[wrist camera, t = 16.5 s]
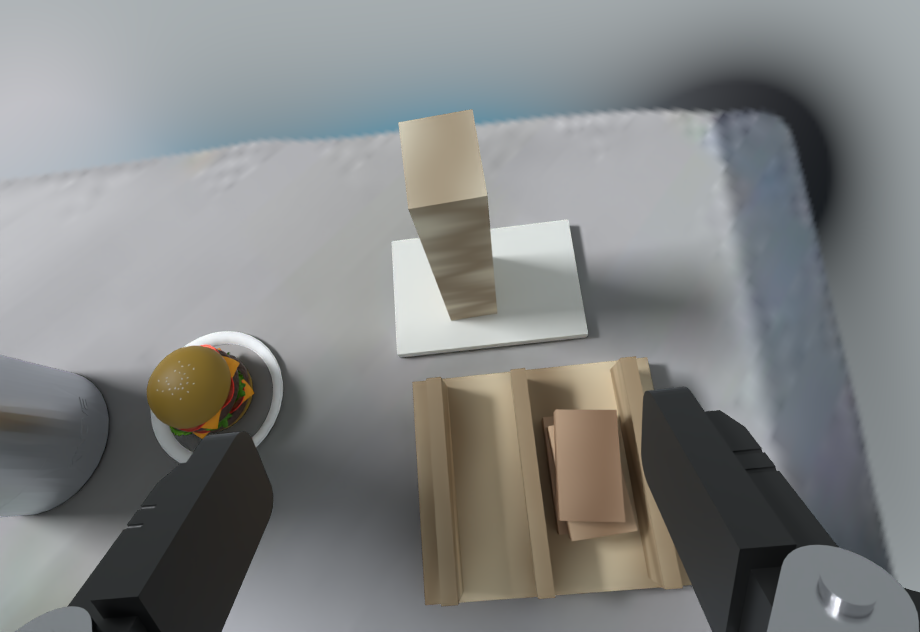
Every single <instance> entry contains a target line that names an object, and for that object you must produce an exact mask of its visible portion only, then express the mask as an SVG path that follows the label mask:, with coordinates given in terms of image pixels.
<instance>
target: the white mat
mask: <svg viewBox="0 0 920 632" xmlns="http://www.w3.org/2000/svg"><path fill="white" fill-rule="evenodd" d="M490 232H491V244H492V256H493V268H494V279H495V291H496V303H497V314H490V315H484V316H478V317H471V318H465V319H459V320H452V321H451V319H450V317H449V314H448V312H447V309H446V306H445V304H444V301H443V298H442V296H441V293H440V291H439V288H438V285H437V283H436V280H435V277H434V275H433V272H432V270H431V267H430V264H429V262H428V259H427V256H426V254H425V251H424V249H423V246H422V243H421V241H420V238H414V239H406V240H398V241H392V257H393V278H394V299H395V319H396V340H397V355H398V356H399V357H409V356H419V355H428V354H437V353H446V352H455V351H464V350H474V349H483V348H492V347H501V346H510V345H520V344H529V343H538V342H547V341H556V340H566V339H575V338H584V337H587V335H588V330H587V324H586V318H585V313H584V307H583V301H582V295H581V290H580V284H579V278H578V273H577V267H576V261H575V255H574V250H573V244H572V238H571V233H570V227H569V221H568V219H567V220H559V221H551V222H543V223H535V224H527V225H519V226H511V227H503V228H495V229H490Z"/></svg>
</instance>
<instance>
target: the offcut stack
mask: <svg viewBox="0 0 920 632" xmlns="http://www.w3.org/2000/svg"><path fill="white" fill-rule="evenodd" d="M553 415H554V416H552V417H543V418H542V426H543V434H544V441H545V448H546V456H547V463H548V470H549V478H550V485H551V492H552V500H553V507H554V514H555V522H556V529H557V533H558V534H559V535H563V534H569V538H570V539H571V540H572V541H577V540H584V539H590V538H596V537H602V536H609V535H615V534H621V533H627V532H634V531H638V530H637V526H636V522H635V518H634V514H633V510H632V506H631V502H630V498H629V494H628V490H627V486H626V482H625V478H624V474H623V470H622V466H621V460H620V448H619V435H618V422H617V410H555V411H554V413H553Z"/></svg>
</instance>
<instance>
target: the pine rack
mask: <svg viewBox="0 0 920 632" xmlns="http://www.w3.org/2000/svg"><path fill="white" fill-rule="evenodd" d="M510 371H511V372H504V373H494V374H485V375H475V376H466V377H456V378H447V379H442V378H441V377H436V378H427V379H426V381H418V382H412V383H413V400H414V418H415V435H416V453H417V470H418V488H419V505H420V523H421V540H422V558H423V576H424V593H425V605H435V604H441V606H452V605H458V604H459V603H462V602H475V601H488V600H501V599H514V598H528V597H538V599H545V598H555V595H567V594H580V593H594V592H607V591H620V590H633V589H646V588H659V587H662V588H664V589H677V588H683V586H686V585H692V584H691V582H690V580H689V577H688V575H687V573H686V570H685V568H684V566H683V564H682V561H681V559H680V557H679V555H678V552H677V550H676V548H675V545H674V543H673V541H672V539H671V536H670V534H669V532H668V529H667V527H666V525H665V523H664V520H663V518H662V516H661V514H660V511H659V509H658V507H657V504H656V502H655V500H654V498H653V495H652V493H651V491H650V488H649V486H648V484H647V481H646V478H645V475H644V471H643V466H642V459H641V435H642V409H643V396H644V393H645V391H649V390H654V388H653V383H652V378H651V374H650V369H649V364H648V359H647V357H646V358H636V356H635V357H625V358H620V359H619V360H617V361H608V362H598V363H589V364H579V365H570V366H560V367H551V368H541V369H532V370H526V369H525V368H521V369H512V370H510ZM555 410H617V422H618V435H619V448H620V460H621V466H622V470H623V474H624V478H625V482H626V486H627V490H628V494H629V498H630V502H631V506H632V510H633V514H634V518H635V522H636V526H637V530H638V531H634V532H627V533H621V534H615V535H609V536H602V537H596V538H590V539H584V540H577V541H572V540H571V539H570V538H569V534H563V535H559V534H558V533H557V529H556V522H555V514H554V507H553V500H552V492H551V485H550V478H549V470H548V463H547V456H546V448H545V441H544V434H543V426H542V418H543V417H552V416H554V415H553V413H554V411H555Z"/></svg>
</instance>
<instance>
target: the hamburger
mask: <svg viewBox="0 0 920 632" xmlns="http://www.w3.org/2000/svg"><path fill="white" fill-rule="evenodd" d="M223 344H235V345H241V346H244V347H247V348H249V349H251V350H252V351H254V352H256V353H257V354H258V355H259V356H260V357H261V358H262V359H263V361H264V362H265V364H266V365H267V367H268V369H269V372H270V374H271V377H272V383H273V398H272V403H271V407H270V410H269V413H268V415H267V418H266V420H265V421H264V423H263V425H262V426H261V428H260V429H259V430H258V432H257V433H256V434H255V435H254V436H253V437H252V439H253V442H254V444H255V447H257V446H258V445H259V444H260V443H261V442H262V441H263V440H264V438H265V437H266V436H267V435H268V433H269V431H270V430H271V428H272V427H273V425H274V423H275V421H276V418H277V416H278V413H279V411H280V407H281V402H282V397H283V381H282V375H281V370H280V367H279V365H278V362H277V360H276V358H275V357H274V355H273V354H272V352H271V351H270V349H269V348H268V347H267V346H265V345H264V344H263V343H262V342H261V341H260V340H258V339H256V338H254V337H252V336H251V335H248V334H244V333H241V332H233V331H223V332H215V333H211V334H208V335H205V336H202V337H200V338H198V339H196V340H194V341H192V342H190V343H189V344H187V345H186V346H185V347H183V348H180V349H178V350H175V351H173V352H172V353H170V354H169V355H167V356H166V357H165V358H164V359H163V360H162V361H161V362H160V363H159V365H158V366H157V367H156V368H155V370H154V371H153V373H152V375H151V377H150V379H149V381H148V386H147V400H148V404H149V406H150V408H151V410H150V411H151V423H152V427H153V430H154V433H155V436H156V438H157V440H158V442H159V443H160V445H161V447H162V448H163V449H164V450H165V451H166V453H167V454H168V455H169V456H170V457H172V458H173V459H175V460H176V461H178V462H179V463H186V462H187V460H188V459H189V458H190V456H191V455H192V453H193V452H192V451H190V450H188V449H186V448H185V447H183V446H182V445H181V444H180V443H179V442H178V441H177V440H176V439H175V437H174V435H173V434H172V432H173V433H175V435H177V434H178V436H181V435H182V434H184V435H186V436H187V435H189V434H192V433H194V434H195V435H196V436H198V437H200V438H201V439H203V438H204V437H205V436H206V435H207V434H209V433H214V432H217V431H221V430H224V429H226V428H229V427H230V426H232V425H233V424H235V423H236V422H237V421H238V420H239V419H240V418H242V416H243V415H244V414H245V412H246V411H247V409H248V407H249V405H250V402H251V399H252V395H253V394H254V392H253V383H252V379H251V376H250V374H249V372H248V370H247V369H246V367H245V366H244V364H243V363H242V362H241V361H240V360H239V359H238V358H236V357H235V356H233V355H230V354H229V352H228V353H225V352H224V351H222V350H221V349H220V348H218V349H215V348H214V347H213V346H217V345H223ZM169 426H170V427H169ZM170 428H171V430H170ZM171 431H172V432H171Z"/></svg>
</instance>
